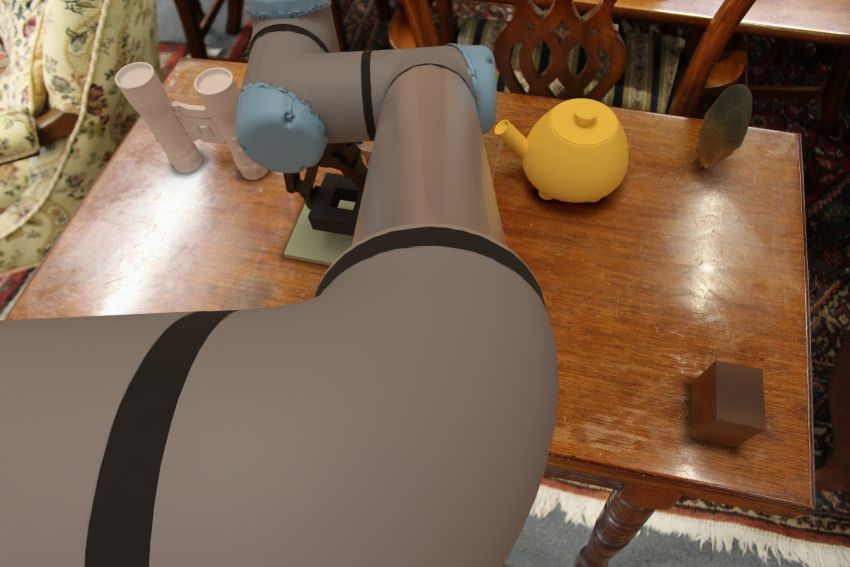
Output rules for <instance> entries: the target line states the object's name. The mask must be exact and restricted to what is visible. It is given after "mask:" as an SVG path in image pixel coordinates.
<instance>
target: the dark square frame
mask: <svg viewBox="0 0 850 567" xmlns="http://www.w3.org/2000/svg"><path fill="white" fill-rule="evenodd" d="M319 186H320V189H319V191H318V194H317V196H316V199H315V201H314V203H313V205H312V208H311V210H310V212H309V215H308V219H309V221H310V224H311V226H312V229H313V230H319V231H325V232H331V233H337V234H342V235H348V236H354V232H355V228H356V223H357V218H358V214H359V209H360V204H361V200H362V195H363V194H362V192H361V191H360V190H359V189H358V187H357V186H356V185H355V184H354V182H353V181H352V180H351V179H350V178H346V177H345V176H344V175H343V174H342V173H334V172H325V173H324V177H323V178H322V180H321V184H320V185H319ZM340 200H343V201H349V202H355V205H354V208H353V210H349V209H343V208H337V207H338V205H339V202H340Z"/></svg>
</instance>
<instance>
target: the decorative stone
mask: <svg viewBox="0 0 850 567" xmlns="http://www.w3.org/2000/svg"><path fill="white" fill-rule="evenodd" d="M752 112H753V94H752V92H751V90H750V88H749V87H748V86H747V85H745V84H743V83H736V84H734V85H729V86H728V87H726V89H724V90H723V91H722V92H721V93H720V94H719V96H718V97H717V98H716V99H715V101H714V102H713V103H712V105H711V107H709V108H708V110H707V111H706V112H705V115H704V117H703V121H702V124H701V126H700V128H699V129H698V133H697V143H696V148H695V152H696V155H697V157H698V163H699V164H698V165H699V168H704V169H705V170H706V169H709V168H710V167H713V166H714V165H716V164H718V163H720V162H722V161H724V160H726V159H727V158H729V157H730V156H732V154H733V153H734V152H735V151H737V150H738V149H740V148H741V146H742V144H743V142H744V141H745V138H746V135H747V133H748V130H749V126H750V123H751V119H752Z"/></svg>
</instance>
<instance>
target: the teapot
mask: <svg viewBox="0 0 850 567" xmlns="http://www.w3.org/2000/svg"><path fill="white" fill-rule="evenodd" d="M493 129H494V130H493V132H494V134H495V135H496V136H498V138H499V139H500V140H502V141H503V143H505V144H506V145H507V146H508V147H509V148H510V149H512V150H513V151H514V152H515V153H516V154H517V155H518V156H519V157H520V158H521V165H522V169H523V172H524V174H525V176H526V178H527V180H528V181H529V183H530V184H531V185H532V186H533V187H534V188H535V189H537V190H538V195H539V197H540V198H541V199H543V200H545V201H548V200H549V201H551V200H553V199H554V200H557V201H561V202H564V203H565V202H566V203H588V202H589V203H596V202H599V201H600V200H601V199H602V198H604V197H607V196H608V195H610V194H611V193H613V192H614V191H615V190H616V189H617V188H618V187H619V186H620V184H622V183H623V180H624V178H625V176H626V173H627V170H628V167H629V159H630V156H629V155H630V154H629V153H630V152H629V148H630V147H629V143H628V138H627V135H626V133H625V130H624V128H623V125H622V123H621V122H620V120H619V118H618V116H617V115H616V113H615V112H614V111H613V110H612V109H611V108H610V107H609V106H608V105H606V104H604V103H602V102H600V101H598V100H595V99H590V98H583V97H582V98H571V99H567V100H565V101H562V102H560V103H559V104H557V105H555V106H553V108H551V109H550V110H548V111H546V113H545V114H543V115H542V116H541V117H540V118H539V119H538V120H537V121H536V123H535V124H534V125H533V126H532V128H531V129H530V131H529V133H528V135H527V136H524V134H522V133H521V132H520V130H518V128H516V127H515V126H514V124H512V123H511V122H510V121H509V120H508V119H502V120H500V121H499V122H498V123H497V124H496V125H495V126H494V128H493Z"/></svg>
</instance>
